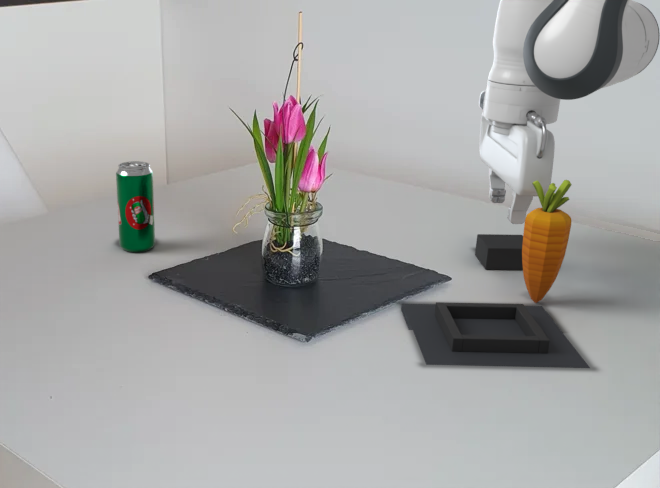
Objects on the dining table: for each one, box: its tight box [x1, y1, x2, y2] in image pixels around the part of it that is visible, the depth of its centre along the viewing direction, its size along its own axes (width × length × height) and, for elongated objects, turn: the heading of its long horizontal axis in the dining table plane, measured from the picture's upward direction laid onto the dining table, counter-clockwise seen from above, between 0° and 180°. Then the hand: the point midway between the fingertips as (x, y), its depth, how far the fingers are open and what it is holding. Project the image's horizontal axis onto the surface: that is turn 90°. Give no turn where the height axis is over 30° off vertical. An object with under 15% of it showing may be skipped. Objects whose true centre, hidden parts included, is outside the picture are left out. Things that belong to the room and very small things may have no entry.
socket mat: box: [400, 302, 591, 369], centre depth 89 cm, size 16×16×2 cm
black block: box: [474, 233, 523, 271], centre depth 112 cm, size 6×6×3 cm
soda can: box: [115, 160, 156, 253], centre depth 117 cm, size 5×5×12 cm
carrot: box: [522, 179, 573, 304], centre depth 96 cm, size 5×5×15 cm
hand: (505, 211), depth 110 cm, fingers open, 8 cm apart
